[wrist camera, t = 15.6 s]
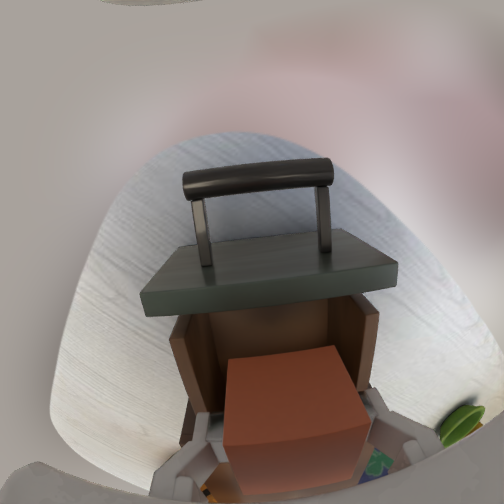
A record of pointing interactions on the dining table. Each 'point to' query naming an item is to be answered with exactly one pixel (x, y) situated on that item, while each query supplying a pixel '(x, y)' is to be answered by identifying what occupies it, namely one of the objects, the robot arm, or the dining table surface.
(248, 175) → the drawer
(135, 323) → the dining table surface
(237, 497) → the cabinet
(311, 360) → the block
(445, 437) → the tableware set
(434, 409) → the dining table surface
